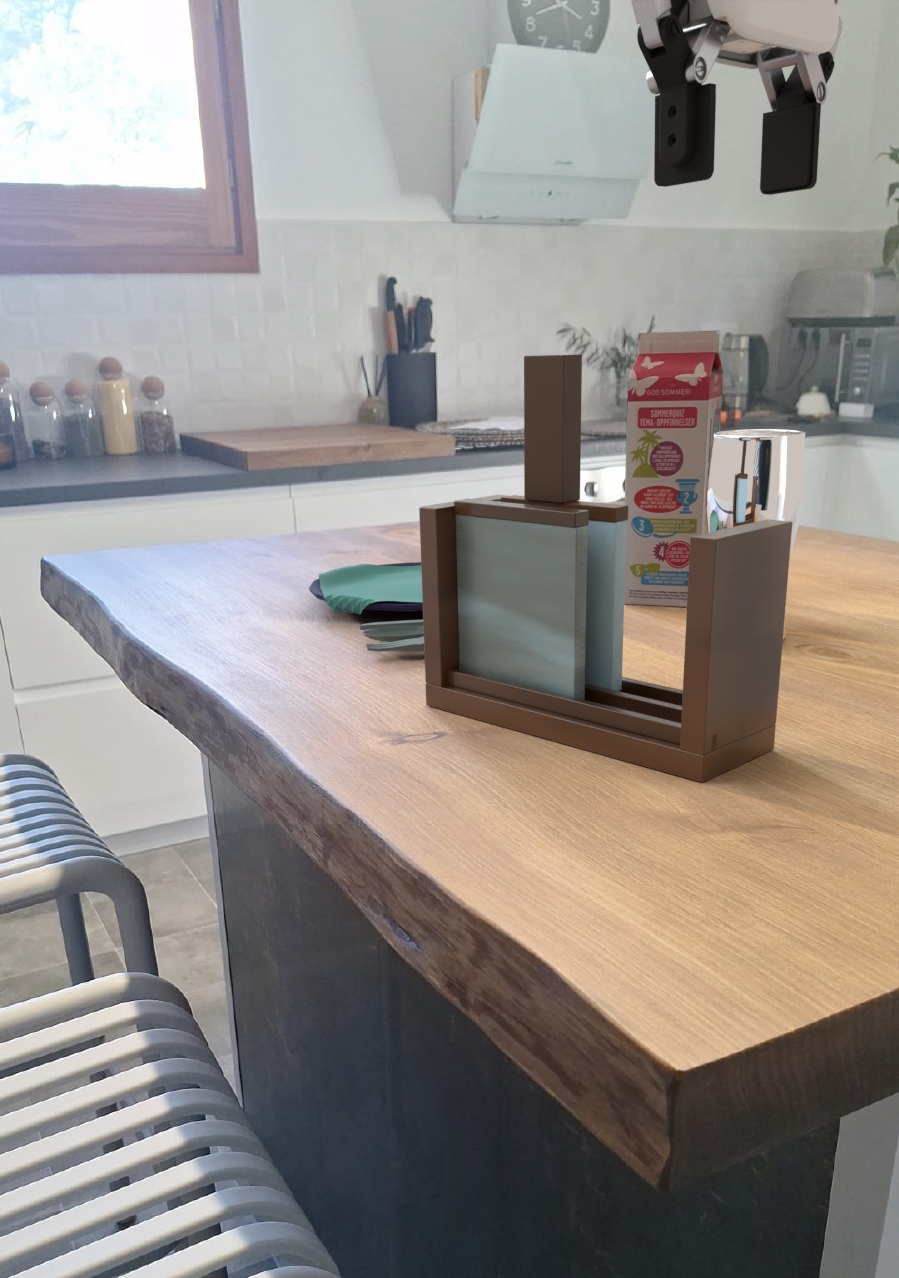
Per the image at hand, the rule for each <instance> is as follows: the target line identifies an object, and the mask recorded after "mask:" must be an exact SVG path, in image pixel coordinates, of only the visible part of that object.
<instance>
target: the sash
mask: <svg viewBox="0 0 899 1278" xmlns="http://www.w3.org/2000/svg"><path fill="white" fill-rule="evenodd" d="M582 378H583V354H581V353H576V354H575V353H574V354H573V353H572V354H571V353H570V354H534V355H533V354H532V355H523V449H524V450H523V452H524V453H523V464H524V465H523V469H524V470H523V472H524V474H523V475H524V476H523V479H524V481H523V482H524V483H523V484H524V485H523V486H524V488H523V491H524V492H523V494H524V495H517V494H512V495H507V496H505V497H501V502H507V503H518V504H528V505H538V506H548V507H559V508H569V509H579V510H588V511H589V524H588V525H587V585H586V644H585V684H588V685H593V686H597V687H601V688H606V689H610V690H614V691H620V690H621V689H622V677H623V658H624V657H623V655H624V651H623V650H624V623H625V622H624V621H625V604H624V591H625V557H626V523H627V522H626V520H628V505H625V504H618V503H617V504H616V503H606V502H605V503H604V502H596V501H595V502H594V501H583V500H581V455H582V453H581V452H582V451H581V449H582V388H583V387H582V385H583V384H582V383H583V380H582Z"/></svg>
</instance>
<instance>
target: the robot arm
mask: <svg viewBox="0 0 899 1278" xmlns="http://www.w3.org/2000/svg"><path fill="white" fill-rule="evenodd" d="M630 1H631V4H632V9H633V12H634V18H635V21H636V25H639V26H638V28H637V33H636V34H637V35H636V40H637V44H638V47H639V49H640V52H641V54H642V56H643V58H644V60H645V62H646V64H647V66H648V71H647V73H646V84H647V89H648V90H649V92H650V93H651V94H653V95H655V96H654V152H653V153H654V155H653V156H654V158H653V161H654V165H653V166H654V167H653V172H654V173H653V180H654V184H655V185H656V186H657V187H664V188H667V187H673V186H680V185H685V184H691V183H692V184H693V183H697V182H704V181H707V180H711V178H712V176H713V175H714V173H715V149H716V148H715V147H716V146H715V145H716V109H717V108H716V107H717V105H716V104H717V84H716V83H711V82H708V83H705V82H706V80H707V79H708V77H709V75H710V72H711V71H712V68H713V66H714V64H720V65H726V66H731V67H736V68H740V69H746V70H757V69H758V72H759V75H760V78H761V81H762V84H763V88H764V90H765V93H766V97H767V99H768V100H767V101H768V102H769V105H770V108H771V111H767V112H763V113H762V126H761V127H762V128H761V129H762V130H761V149H760V150H761V151H760V153H761V155H760V175H759V176H760V177H759V178H760V179H759V181H760V182H759V191H760V193H761V194H762V195H766V196H767V195H769V196H773V195H778V194H785V193H791V192H799V191H804V190H805V191H806V190H811V189H813V188H815V186H816V184H817V182H818V167H819V166H818V164H819V147H820V131H821V130H820V129H821V113H822V106H823V105H824V104H825V102H826V101H827V96H828V87H827V84H828V82H829V80H830V78H831V76H832V74H833V72H834V68H835V60H834V59H835V55H836V51H837V48H838V44H839V41H840V39H841V38H840V37H841V34H842V29H843V23H842V19H841V16H840V0H630ZM787 67H793V68H792V70H791V72H790V74H789V76H788V77H787V79H786V77H785V74H784V70H783V68H787ZM704 83H705V84H704Z"/></svg>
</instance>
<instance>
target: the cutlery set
mask: <svg viewBox="0 0 899 1278" xmlns="http://www.w3.org/2000/svg"><path fill="white" fill-rule="evenodd" d="M308 589H309V593H311V594H312V595H313V596H314V597H315V598H316V599H318V600H321V601H323V602H325V603H326V604H327V606H329V607H330V608H331V609H332V610H333V611H337V612H341V613H350V614H357V615H362V613H363V610H366V611H382V612H383V611H385V612H386V611H387V612H423V599H422V572H421V561H418V562H417V561H415V562H414V561H413V562H411V561H410V562H398V563H385V564H384V563H383V564H371V563H359V564H354V565H347V566H342V567H338V568H334V569H331V570H328V571H324V572H321V573H318V578H317V579H315V580H313V581H312V582H311V584H310V585H309V587H308ZM359 630H361V635H362V636H364V637H366V638H368V639H371V640H375V641H379V642H381V643H365V646H366V649H367V651H369V652H370V651H371V652H388V651H403V650H404V651H405V650H406V651H420V650H421V651H424V626H423V619H409V620H408V619H407V620H392V621H390V620H389V621H375V622H368V623H362V624H359Z"/></svg>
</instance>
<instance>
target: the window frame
mask: <svg viewBox="0 0 899 1278" xmlns="http://www.w3.org/2000/svg"><path fill="white" fill-rule="evenodd" d="M505 496H508V495H506V494H494V495H486V496H480V497H475V498H462V499H455V500H454V501H448V502H442V503H434V504H427V505H421V506H419V507H418V508H419V509H418V512H419V514H418V516H419V541H420V543H419V544H420V562H421V572H422V599H423V611H422V620H423V626H424V650H423V651H424V677H425V678H424V679H425V705H426V706H428V707H431V708H435V709H438V710H442V711H446V712H448V713H453V714H456V715H460V716H463V717H467V718H470V719H472V720H473V719H474V720H478V721H481V722H484V723H488V724H491V725H496V726H499V727H502V728H507V729H510V730H514V731H516V732H520V733H523V734H527V735H531V736H534V737H537V738H541V739H544V740H549V741H553V742H556V743H559V744H563V745H567V746H570V747H573V748H577V749H581V750H584V751H587V752H592V753H594V754H599V755H603V756H606V757H610V758H612V759H617V760H620V761H624V762H627V763H631V764H635V765H638V766H641V767H645V768H649V769H652V770H655V771H658V772H663V773H665V774H670V775H674V776H677V777H681V778H684V779H687V780H692V781H695V782H698V783H704V782H706V781H709V780H711V779H713V778H715V777H717V776H719V775H722V774H724V773H726V772H728V771H730V770H732V769H734V768H737V767H739V766H741V765H744V764H745V763H747V762H750V761H752V760H754V759H756V758H758V757H761V756H763V755H765V754H767V753H769V752H771V751H773V750H774V749H775V738H776V728H777V727H776V726H777V725H776V724H777V714H778V705H779V704H778V703H779V692H780V691H779V690H780V679H781V678H780V677H781V667H782V666H781V665H782V654H783V641H784V639H783V631H784V620H785V616H786V605H787V593H788V583H789V570H790V569H789V568H790V561H789V558H790V546H791V533H792V522H791V521H780V520H769V519H767V520H762V521H758V522H753V523H749V524H744V525H740V526H735V527H731V528H726V529H722V530H717V531H713V532H708V533H704V534H699V535H694V536H691V537H690V557H689V577H688V597H687V607H686V621H685V639H684V658H683V659H684V661H683V681H682V689H679V688H675V687H671V686H666V685H661V684H657V683H653V682H647V681H642V680H638V679H634V678H630V677H625V676H622V689H621V690H620V691H614V690H610V689H606V688H601V687H597V686H593V685H588V684H585V644H586V585H587V525H588V524H589V511H588V510H579V509H569V508H559V507H548V506H538V505H528V504H518V503H507V502H501V497H505ZM790 559H791V558H790Z"/></svg>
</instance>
